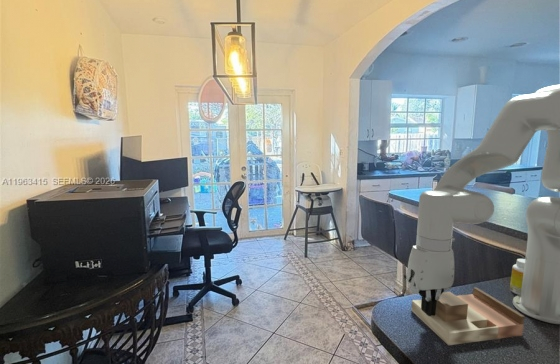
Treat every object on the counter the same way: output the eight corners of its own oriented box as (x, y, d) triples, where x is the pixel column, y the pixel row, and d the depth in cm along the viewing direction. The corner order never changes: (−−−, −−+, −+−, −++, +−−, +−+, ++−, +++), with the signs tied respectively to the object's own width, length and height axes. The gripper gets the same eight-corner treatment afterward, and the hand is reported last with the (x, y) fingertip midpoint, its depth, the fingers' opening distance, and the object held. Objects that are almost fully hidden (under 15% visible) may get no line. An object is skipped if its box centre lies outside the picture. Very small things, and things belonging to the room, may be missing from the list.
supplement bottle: (529, 299, 87) (533, 266, 85) (506, 291, 91) (510, 260, 90) (535, 294, 90) (540, 262, 88) (513, 286, 94) (517, 256, 93)
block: (448, 305, 78) (450, 291, 77) (466, 319, 72) (468, 304, 72) (428, 307, 77) (429, 293, 76) (444, 321, 71) (446, 306, 71)
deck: (474, 303, 84) (476, 287, 84) (522, 335, 71) (524, 316, 70) (411, 310, 81) (412, 293, 80) (448, 345, 67) (450, 325, 67)
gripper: (449, 235, 76) (443, 301, 79) (396, 239, 73) (392, 307, 76) (473, 246, 69) (466, 318, 71) (415, 250, 66) (409, 325, 69)
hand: (428, 312), depth 74 cm, fingers closed
